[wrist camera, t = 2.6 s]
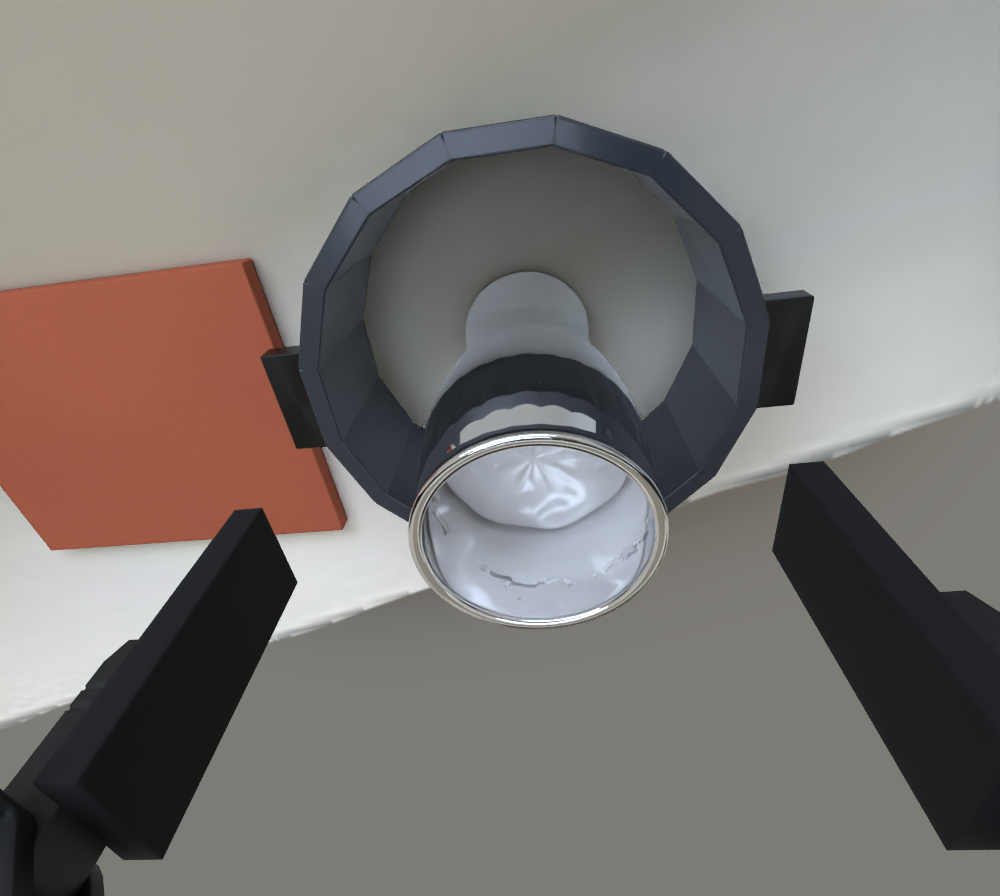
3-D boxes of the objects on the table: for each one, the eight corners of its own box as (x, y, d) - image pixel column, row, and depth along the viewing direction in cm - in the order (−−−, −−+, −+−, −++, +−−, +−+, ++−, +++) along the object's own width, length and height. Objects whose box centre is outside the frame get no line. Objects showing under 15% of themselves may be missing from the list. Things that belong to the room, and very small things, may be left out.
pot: (777, 80, 20) (872, 66, 14) (729, 460, 29) (776, 540, 24) (261, 160, 22) (173, 172, 17) (369, 489, 31) (335, 567, 26)
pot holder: (251, 257, 24) (241, 262, 23) (347, 519, 33) (342, 530, 32) (-117, 306, 26) (-138, 312, 26) (62, 540, 35) (50, 550, 34)
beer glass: (506, 418, 28) (499, 663, 16) (427, 313, 25) (340, 513, 13) (622, 352, 26) (722, 576, 13) (551, 228, 23) (594, 369, 10)
